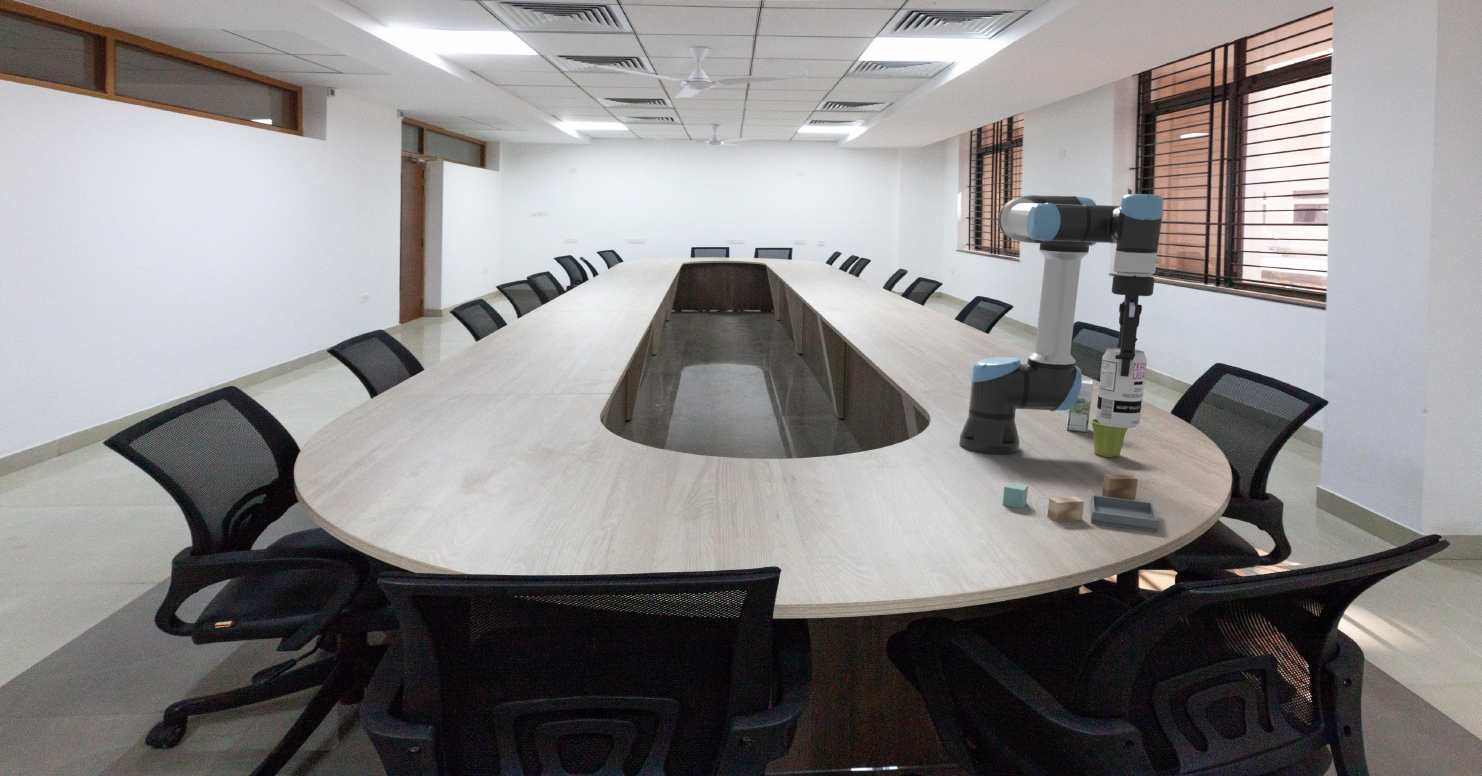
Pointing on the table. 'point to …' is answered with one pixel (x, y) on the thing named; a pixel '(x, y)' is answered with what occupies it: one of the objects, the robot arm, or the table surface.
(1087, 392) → the syrup box
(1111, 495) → the walnut block
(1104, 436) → the plant pot
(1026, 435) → the table surface
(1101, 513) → the tray
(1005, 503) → the teal block
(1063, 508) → the tan block
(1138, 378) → the supplement can
